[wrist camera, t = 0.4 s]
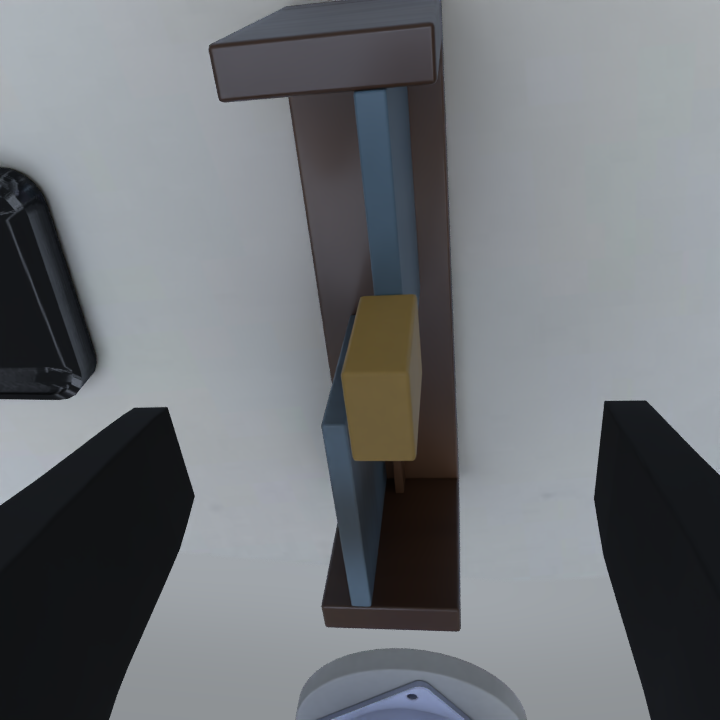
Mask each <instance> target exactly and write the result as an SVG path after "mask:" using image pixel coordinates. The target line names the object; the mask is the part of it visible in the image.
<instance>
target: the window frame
mask: <svg viewBox="0 0 720 720" xmlns="http://www.w3.org/2000/svg"><path fill="white" fill-rule="evenodd" d="M209 54H210V59H211V64H212V69H213V74H214V79H215V84H216V89H217V94H218V98H219V100H220V101H221V102H235V101H247V100H258V99H270V98H281V97H288V98H289V105H290V111H291V118H292V125H293V131H294V138H295V144H296V151H297V157H298V164H299V171H300V177H301V184H302V190H303V197H304V204H305V210H306V217H307V223H308V230H309V237H310V243H311V250H312V256H313V263H314V269H315V276H316V283H317V289H318V296H319V302H320V309H321V316H322V322H323V329H324V335H325V342H326V349H327V355H328V362H329V368H330V375H331V382H332V387H331V391H330V394H329V398H328V402H327V406H326V410H325V413H324V417H323V421H322V425H321V427H322V433H323V439H324V445H325V451H326V457H327V463H328V469H329V475H330V481H331V486H332V492H333V498H334V504H335V510H336V516H337V522H338V523H337V528H336V533H335V538H334V543H333V549H332V554H331V559H330V564H329V569H328V575H327V580H326V585H325V590H324V595H323V600H322V611H323V616H324V621H325V625H326V627H336V628H366V629H396V630H428V631H460V629H461V612H460V611H461V609H460V510H459V461H458V434H457V408H456V381H455V354H454V327H453V300H452V274H451V247H450V220H449V193H448V166H447V139H446V113H445V86H444V59H443V32H442V5H441V0H341V1H332V2H323V3H314V4H304V5H295V6H286V7H284V8H282V9H280V10H278V11H276V12H274V13H272V14H270V15H268V16H266V17H264V18H262V19H260V20H258V21H256V22H254V23H252V24H250V25H248V26H246V27H244V28H242V29H240V30H238V31H236V32H234V33H232V34H230V35H228V36H226V37H224V38H222V39H220V40H218V41H216V42H214V43H212V44H211V45H209ZM406 86H407V92H408V107H409V123H410V138H411V154H412V169H413V185H414V200H415V216H416V231H417V247H418V262H419V278H420V295H419V306H418V319H419V333H420V348H421V363H422V381H421V395H420V410H419V424H418V438H417V453H416V458H415V460H413V461H355V460H354V459H353V457H352V451H351V444H350V437H349V430H348V423H347V416H346V409H345V402H344V395H343V388H342V380H341V373H342V368H343V364H344V360H345V356H346V352H347V348H348V344H349V340H350V336H351V332H352V328H353V324H354V320H355V316H356V312H357V308H358V304H359V300H360V298H361V297H363V296H374V288H373V278H372V269H371V259H370V249H369V240H368V230H367V221H366V211H365V201H364V192H363V182H362V173H361V163H360V153H359V144H358V134H357V124H356V115H355V105H354V96H353V95H354V92H355V91H361V90H372V89H383V88H395V87H406Z"/></svg>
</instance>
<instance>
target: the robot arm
mask: <svg viewBox="0 0 720 720" xmlns="http://www.w3.org/2000/svg"><path fill="white" fill-rule="evenodd" d="M194 497H195V495H194V492H193V489H192V486H191V482H190V479H189V476H188V473H187V469H186V466H185V463H184V460H183V456H182V453H181V450H180V446H179V443H178V440H177V437H176V433H175V430H174V427H173V424H172V420H171V417H170V414H169V411H168V407H155V408H133V409H132V410H130V411H129V412H127V413H126V414H124V415H123V416H121V417H120V418H118V419H117V420H116V421H114V422H113V423H111V424H110V425H109V426H107V427H106V428H105V429H103V430H102V431H101V432H99V433H98V434H97V435H95V436H94V437H93V438H91V439H90V440H89V441H87V442H86V443H85V444H83V445H82V446H81V447H80V448H78V449H77V450H76V451H74V452H73V453H72V454H70V455H69V456H68V457H66V458H65V459H64V460H62V461H61V462H60V463H58V464H57V465H56V466H54V467H53V468H52V469H50V470H49V471H48V472H46V473H45V474H44V475H42V476H41V477H40V478H38V479H37V480H36V481H34V482H33V483H32V484H30V485H29V486H27V487H26V488H25V489H23V490H22V491H20V492H19V493H17V494H16V495H15V496H13V497H12V498H10V499H9V500H7V501H6V502H5V503H3V504H2V505H0V720H109V718H110V715H111V712H112V709H113V705H114V703H115V700H116V697H117V694H118V691H119V689H120V686H121V683H122V681H123V678H124V676H125V673H126V670H127V668H128V666H129V664H130V661H131V659H132V657H133V654H134V652H135V650H136V648H137V646H138V643H139V641H140V639H141V637H142V634H143V632H144V630H145V627H146V625H147V623H148V621H149V619H150V616H151V614H152V612H153V609H154V607H155V605H156V603H157V600H158V598H159V596H160V594H161V592H162V589H163V587H164V585H165V582H166V580H167V578H168V575H169V573H170V571H171V568H172V566H173V564H174V561H175V559H176V557H177V554H178V552H179V549H180V547H181V543H182V540H183V537H184V533H185V530H186V527H187V523H188V519H189V516H190V512H191V508H192V504H193V501H194ZM594 501H595V507H596V514H597V520H598V526H599V532H600V538H601V544H602V550H603V555H604V559H605V563H606V566H607V570H608V573H609V577H610V580H611V583H612V587H613V590H614V593H615V597H616V600H617V603H618V607H619V610H620V613H621V617H622V620H623V623H624V626H625V630H626V633H627V637H628V640H629V644H630V647H631V650H632V653H633V657H634V660H635V664H636V667H637V670H638V674H639V677H640V680H641V683H642V687H643V690H644V694H645V698H646V702H647V706H648V710H649V714H650V718H651V720H720V475H719V474H718V473H717V472H716V471H715V470H714V469H713V468H712V467H711V466H710V465H709V464H708V463H707V462H706V461H705V460H704V459H703V458H702V457H701V456H700V455H699V454H698V453H697V452H696V451H695V450H694V449H693V448H692V447H691V446H690V445H689V444H688V443H687V442H686V441H685V440H684V439H683V438H682V437H681V436H680V435H679V434H678V433H677V432H676V431H675V430H674V429H673V428H672V427H671V426H670V425H669V424H668V423H667V422H666V420H665V419H664V418H663V417H662V416H661V415H660V414H659V413H658V412H657V411H656V410H655V409H654V408H653V407H652V406H651V405H650V404H649V403H648V402H647V401H605V402H604V411H603V420H602V430H601V439H600V448H599V458H598V467H597V476H596V485H595V495H594ZM317 720H472V719H471V718H469V717H468V716H467V715H466V714H465V713H463V712H462V711H461V710H460V709H459V708H457V707H456V706H455V705H454V704H453V703H451V702H450V701H449V700H448V699H447V698H445V697H444V696H443V695H442V694H441V693H439V692H438V691H437V690H436V689H435V688H433V687H432V686H431V685H430V684H429V683H427V682H425V681H419V680H418V681H414V682H412V683H409V684H407V685H404V686H402V687H399V688H396V689H394V690H391V691H389V692H386V693H384V694H381V695H379V696H376V697H374V698H371V699H368V700H366V701H363V702H361V703H358V704H356V705H353V706H351V707H348V708H346V709H343V710H340V711H338V712H335V713H333V714H330V715H328V716H325V717H323V718H320V719H317Z"/></svg>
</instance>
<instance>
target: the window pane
mask: <svg viewBox="0 0 720 720" xmlns="http://www.w3.org/2000/svg"><path fill="white" fill-rule="evenodd" d="M353 96H354V105H355V115H356V124H357V134H358V144H359V153H360V163H361V173H362V182H363V192H364V201H365V211H366V221H367V230H368V240H369V249H370V259H371V269H372V278H373V288H374V296H363V297H361V298H360V300H359V304H358V308H357V312H356V316H355V320H354V324H353V328H352V332H351V336H350V340H349V344H348V348H347V352H346V356H345V360H344V364H343V368H342V373H341V380H342V388H343V395H344V402H345V409H346V416H347V423H348V430H349V437H350V444H351V451H352V457H353V459H354V460H355V461H413V460H415V458H416V453H417V438H418V424H419V410H420V395H421V381H422V363H421V348H420V333H419V319H418V306H419V295H420V278H419V262H418V247H417V231H416V216H415V200H414V185H413V169H412V154H411V138H410V123H409V107H408V92H407V86H406V87H395V88H383V89H372V90H361V91H355V92H354V95H353Z"/></svg>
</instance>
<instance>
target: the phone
mask: <svg viewBox="0 0 720 720" xmlns="http://www.w3.org/2000/svg"><path fill="white" fill-rule="evenodd" d="M95 367H96V357H95V353H94V350H93V347H92V343H91V340H90V337H89V334H88V331H87V328H86V325H85V322H84V319H83V315H82V312H81V309H80V306H79V303H78V300H77V297H76V294H75V291H74V287H73V284H72V281H71V278H70V275H69V272H68V269H67V266H66V263H65V259H64V256H63V253H62V250H61V247H60V244H59V241H58V238H57V235H56V231H55V228H54V225H53V222H52V219H51V216H50V213H49V210H48V207H47V204H46V202H45V199H44V197H43V195H42V193H41V192H40V190H39V189H38V188H37V187H36V186H35V184H34V183H33V182H32V181H30V180H29V179H28V178H27V177H25V176H24V175H23V174H21V173H18V172H16V171H14V170H11V169H7V168H0V399H31V400H61V399H68V398H70V397H72V396H74V395H76V394H77V392H78V391H79V390H80V389H81V387H82V386H83V385H84V384H85V383H86V381H87V380H88V379H89V377H90V376H91V375H92V374H93V372H94V371H95Z"/></svg>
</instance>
